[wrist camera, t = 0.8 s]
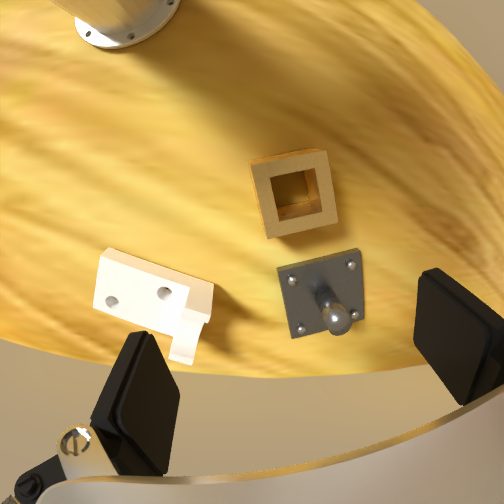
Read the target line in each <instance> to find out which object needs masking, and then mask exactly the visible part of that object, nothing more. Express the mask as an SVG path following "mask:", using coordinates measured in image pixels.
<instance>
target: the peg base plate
mask: <svg viewBox="0 0 504 504" xmlns="http://www.w3.org/2000/svg"><path fill="white" fill-rule="evenodd" d="M277 272H278V277H279V282H280V286H281V291H282V296H283V301H284V305H285V310H286V315H287V320H288V325H289V330H290V334H291V338H292V339H294V338H298V337H302V336H306V335H310V334H313V333H317V332H321V331H324V330H328V329H329V332H330V333H331V334H332V335H335V336H339V335H343V334H345V333H346V332H348V331H349V329H350V328H351V325H352V322H356V321H359V320H362V319H364V302H363V282H362V267H361V254H360V250H359V249H358V248H354V249H350V250H347V251H343V252H339V253H335V254H331V255H327V256H323V257H319V258H315V259H311V260H307V261H303V262H299V263H294V264H290V265H286V266H282V267H278V268H277Z"/></svg>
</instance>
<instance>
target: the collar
mask: <svg viewBox="0 0 504 504" xmlns="http://www.w3.org/2000/svg"><path fill="white" fill-rule="evenodd" d="M248 166H249V170H250V174H251V178H252V182H253V187H254V191H255V195H256V200H257V204H258V208H259V213H260V217H261V221H262V225H263V228H264V231H265V234H266V236H267V239H271V238H275V237H279V236H284V235H288V234H292V233H296V232H301V231H305V230H309V229H313V228H318V227H322V226H326V225H330V224H335V223H338V216H337V209H336V202H335V196H334V190H333V183H332V177H331V171H330V166H329V160H328V155H327V150H322V149H316V148H309V149H304V150H299V151H293V152H288V153H284V154H279V155H274V156H269V157H265V158H260V159H256V160H251V161H248ZM302 170H304V174H305V179H306V184H307V190H308V195H309V201H305V202H301V203H296V204H292V205H288V206H283V207H279V208H276V204H275V200H274V195H273V191H272V186H271V181H270V177H274V176H279V175H283V174H288V173H293V172H297V171H302Z"/></svg>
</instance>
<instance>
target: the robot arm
mask: <svg viewBox="0 0 504 504" xmlns="http://www.w3.org/2000/svg"><path fill="white" fill-rule="evenodd" d="M49 1H51V2H52V3H54V4H56V5H57V6H59V7H60V8H62V9H64V10H65V11H67V12H68V13H70V14H71V15H73V16H74V17H75V24H76V29H77V31H78V33H79V35H80V36H81V37H82V38H83V39H84V40H85V41H86V42H88V43H90V44H91V45H94V46H96V47H98V48H104V49H119V48H124V47H128V46H131V45H134V44H137V43H139V42H141V41H143V40H145V39H147V38H149V37H150V36H152V35H153V34H155V33H156V32H158V31H159V30H160V29H161V28H162V27H163V26H165V25H166V23H167V22H168V21H169V20H170V19H171V18H172V17H173V15H174V13H175V12H176V10H177V9H178V6H179V4H180V1H181V0H49ZM170 4H172V5H170ZM90 35H91V36H90ZM132 37H134V38H133V39H132ZM131 39H132V40H131ZM413 340H414V344H415V346H416V347H417V349H418V350H419V351H420V353H421V354H422V355H423V357H424V358H425V359H426V360H427V362H428V363H429V364H430V366H431V367H432V368H433V370H434V371H435V372H436V374H437V375H438V376H439V378H440V379H441V381H442V382H443V383H444V385H445V386H446V388H447V389H448V390H449V392H450V393H451V394H452V396H453V397H454V399H455V400H456V402H457V403H458V404H459V405H463V407H461V408H460V409H458V410H456V411H454V412H452V413H450V414H448V415H446V416H443V417H441V418H439V419H437V420H435V421H433V422H430V423H428V424H426V425H424V426H421V427H419V428H416V429H414V430H412V431H409V432H407V433H404V434H402V435H399V436H396V437H394V438H391V439H388V440H386V441H383V442H380V443H377V444H374V445H371V446H368V447H364V448H361V449H358V450H355V451H351V452H348V453H344V454H341V455H337V456H333V457H329V458H325V459H321V460H316V461H312V462H307V463H303V464H297V465H293V466H287V467H281V468H276V469H269V470H263V471H255V472H246V473H237V474H227V475H210V476H187V477H186V476H184V477H163V474H166V473H167V472H168V466H169V460H170V452H171V447H172V440H173V435H174V429H175V423H176V417H177V411H178V406H179V399H180V393H179V389H178V387H177V385H176V383H175V381H174V379H173V377H172V375H171V373H170V371H169V368H168V366H167V364H166V362H165V360H164V358H163V356H162V353H161V351H160V349H159V347H158V345H157V342H156V340H155V338H154V336H153V335H152V334H148V332H147V331H139V332H132V333H130V334H129V335H128V337H127V339H126V341H125V343H124V345H123V347H122V349H121V352H120V354H119V356H118V358H117V360H116V362H115V364H114V366H113V368H112V370H111V373H110V375H109V377H108V379H107V381H106V383H105V386H104V388H103V390H102V392H101V394H100V397H99V399H98V401H97V404H96V406H95V408H94V411H93V413H92V415H91V417H90V418H91V420H92V421H91V423H90V426H88V425H85V424H79V425H78V424H77V425H74V426H71V427H69V428H68V429H66V430H65V431H64V432H63V433H62V434H61V435H60V437H59V438H58V441H57V445H56V447H57V453H58V454H57V455H55V456H54V457H52V458H50V459H49V460H47V461H45V462H43V463H42V464H40V465H38V466H36V467H34V468H33V469H31V470H29V471H27V472H25V473H24V474H22V475H21V476H20V477H19V479H18V480H17V482H16V484H15V488H14V492H15V497H13V496H12V495H10V496H9V497H8V498H7V499H6V500H5V501H3V502H2V504H504V319H503V318H502V317H501V316H500V315H498V314H497V313H496V312H495V311H494V310H492V309H491V308H490V307H489V306H487V305H486V304H485V303H484V302H482V301H481V300H480V299H479V298H477V297H476V296H475V295H474V294H472V293H471V292H470V291H468V290H467V289H466V288H465V287H463V286H462V285H461V284H459V283H458V282H457V281H455V280H454V279H453V278H451V277H450V276H449V275H447V274H446V273H445V272H443V271H442V270H440V269H439V268H433V269H430V270H427V271H424V272H423V273H422V275H421V276H420V277H419V279H418V293H417V306H416V317H415V327H414V336H413Z"/></svg>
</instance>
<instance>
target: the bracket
mask: <svg viewBox="0 0 504 504" xmlns="http://www.w3.org/2000/svg"><path fill="white" fill-rule="evenodd" d="M164 287H167V288H169V289H170V290H168V289H166V288H164ZM213 289H214V284H213V283H210V282H207V281H204V280H201V279H198V278H195V277H192V276H189V275H186V274H183V273H180V272H177V271H175V270H172V269H169V268H166V267H163V266H160V265H157V264H154V263H152V262H149V261H146V260H143V259H140V258H137V257H135V256H132V255H129V254H126V253H124V252H121V251H118V250H115V249H113V248H110V247H108V248H107V249H106V250H105V252H104V253H103V254H102V255H101V256H100V261H99V267H98V274H97V280H96V287H95V294H94V302H93V308H95V309H98V310H100V311H103V312H105V313H108V314H111V315H113V316H116V317H118V318H121V319H124V320H127V321H129V322H132V323H135V324H138V325H140V326H143V327H146V328H149V329H152V330H155V331H158V332H161V333H164V334H167V335H170V336H173V341H172V345H171V349H170V354H169V358H168V359H171V360H174V361H177V362H180V363H184V364H187V365H192V363H193V360H194V355H195V350H196V346H197V342H198V339H199V335H200V332H201V330H202V327H203V325H204V322H205V323H208V322H209V319H210V317H211V309H212V299H213Z"/></svg>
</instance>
